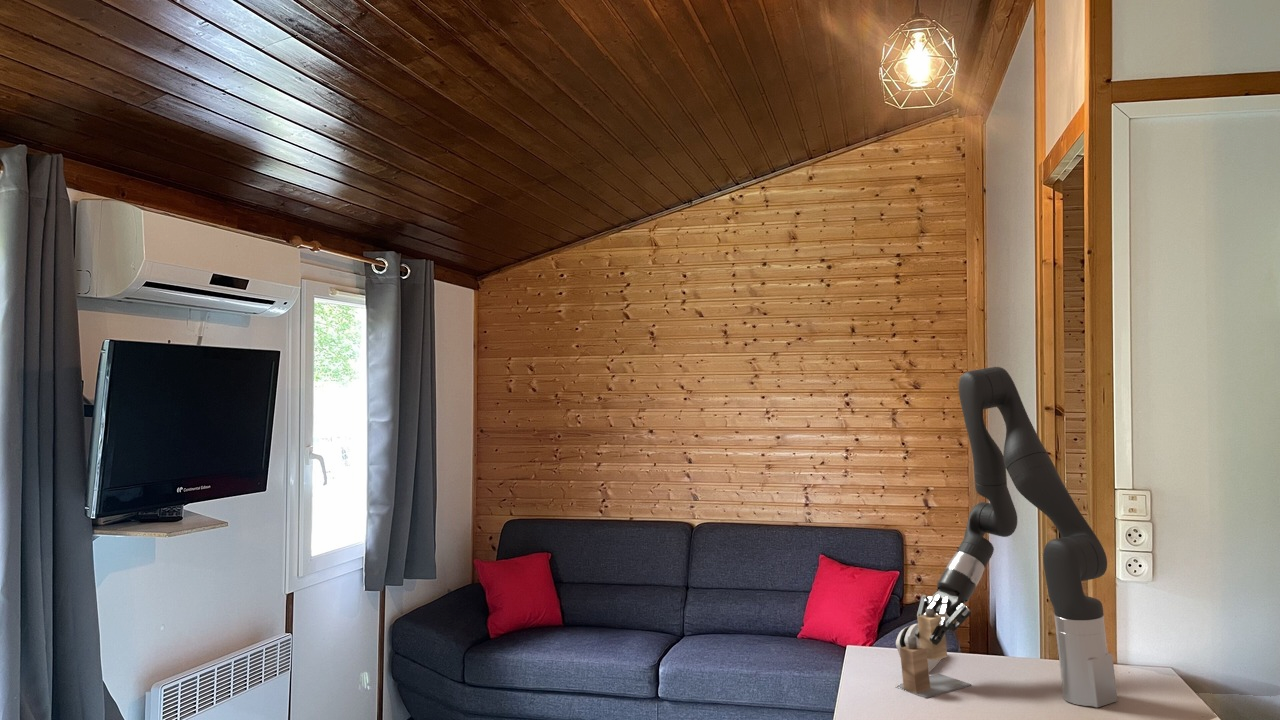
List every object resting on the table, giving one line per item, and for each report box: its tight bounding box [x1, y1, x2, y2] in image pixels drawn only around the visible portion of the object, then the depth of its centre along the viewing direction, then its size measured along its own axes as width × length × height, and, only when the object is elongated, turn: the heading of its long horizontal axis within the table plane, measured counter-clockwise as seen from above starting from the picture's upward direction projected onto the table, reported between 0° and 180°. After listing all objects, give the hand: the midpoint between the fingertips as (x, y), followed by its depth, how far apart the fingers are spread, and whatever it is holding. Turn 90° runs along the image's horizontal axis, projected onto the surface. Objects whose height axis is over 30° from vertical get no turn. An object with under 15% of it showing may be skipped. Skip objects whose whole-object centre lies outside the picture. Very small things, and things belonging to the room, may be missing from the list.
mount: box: [896, 636, 972, 699], centre depth 203 cm, size 10×13×12 cm
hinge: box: [895, 623, 943, 673], centre depth 220 cm, size 17×5×10 cm, turn 146°
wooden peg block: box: [916, 608, 948, 660], centre depth 204 cm, size 4×4×11 cm
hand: (925, 640), depth 203 cm, fingers closed on wooden peg block, 4 cm apart
